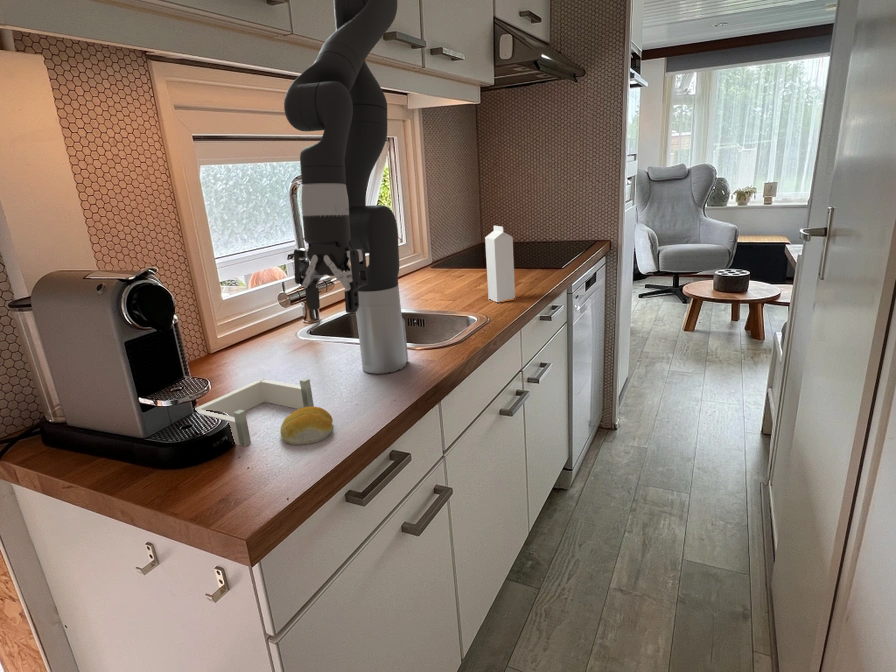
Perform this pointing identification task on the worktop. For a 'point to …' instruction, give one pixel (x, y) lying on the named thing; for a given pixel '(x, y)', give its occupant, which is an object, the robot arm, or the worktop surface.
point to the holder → (256, 403)
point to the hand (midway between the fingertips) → (332, 310)
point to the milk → (500, 265)
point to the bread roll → (306, 426)
